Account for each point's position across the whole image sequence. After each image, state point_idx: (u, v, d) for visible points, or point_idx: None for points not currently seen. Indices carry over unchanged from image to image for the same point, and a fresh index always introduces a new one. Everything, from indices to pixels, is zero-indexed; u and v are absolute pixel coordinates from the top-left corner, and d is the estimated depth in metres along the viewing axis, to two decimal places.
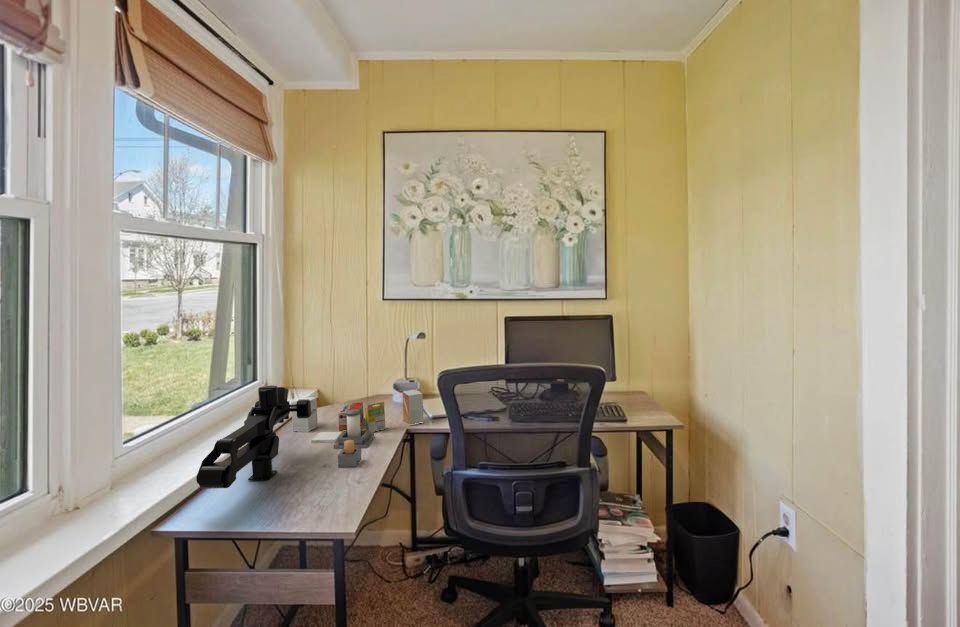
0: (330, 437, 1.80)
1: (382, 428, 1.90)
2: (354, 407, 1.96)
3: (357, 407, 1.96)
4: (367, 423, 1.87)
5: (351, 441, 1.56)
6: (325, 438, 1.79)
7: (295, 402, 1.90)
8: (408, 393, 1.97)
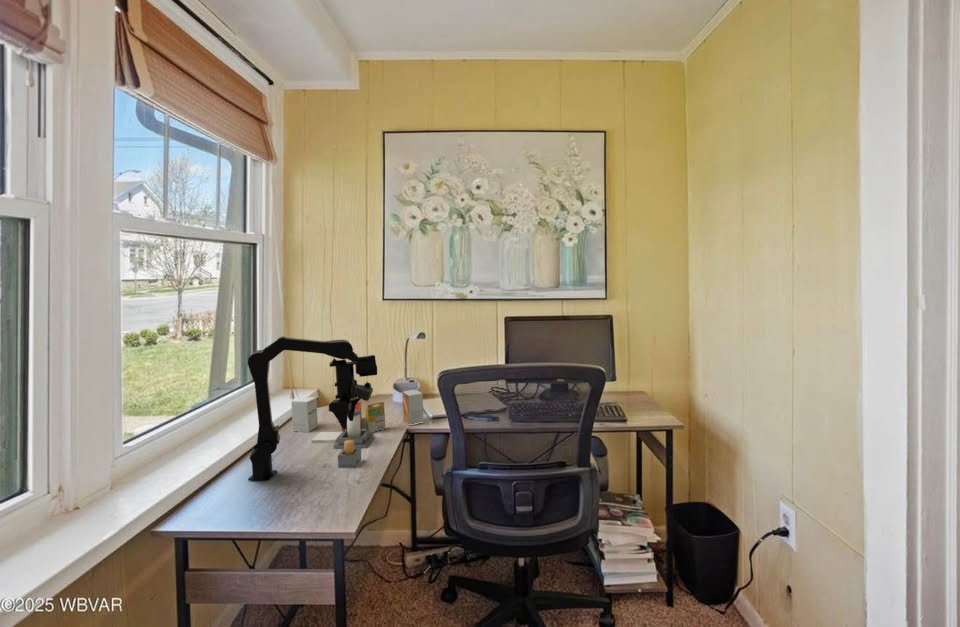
0: (330, 437, 1.80)
1: (382, 428, 1.90)
2: None
3: (358, 407, 1.97)
4: (367, 423, 1.87)
5: (351, 441, 1.56)
6: (325, 438, 1.79)
7: (295, 402, 1.90)
8: (408, 393, 1.97)
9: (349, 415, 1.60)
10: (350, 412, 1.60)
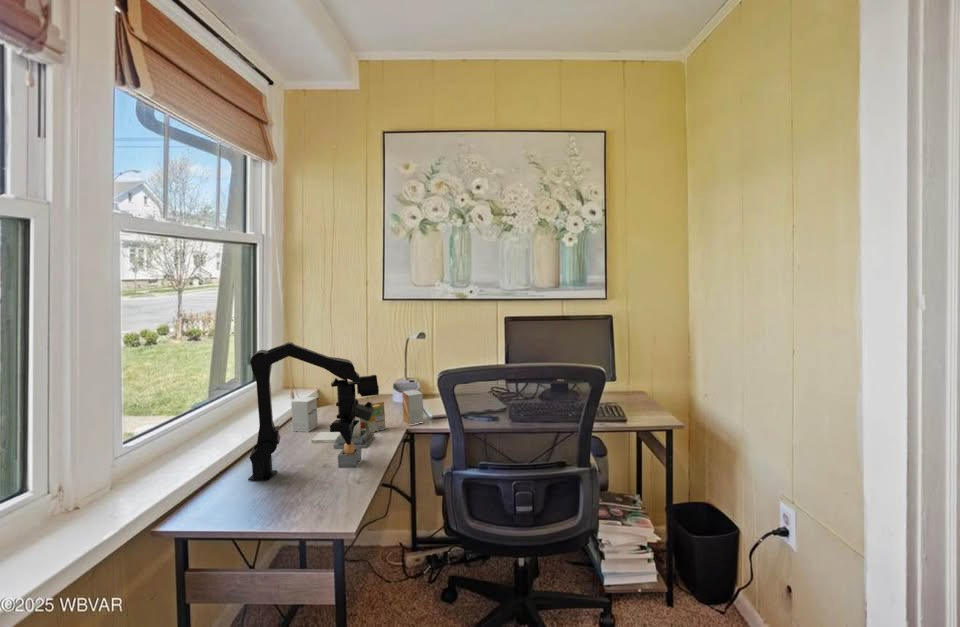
0: (330, 437, 1.80)
1: (382, 428, 1.90)
2: None
3: None
4: (367, 423, 1.87)
5: (351, 444, 1.57)
6: (325, 438, 1.79)
7: (295, 402, 1.90)
8: (408, 393, 1.97)
9: None
10: None
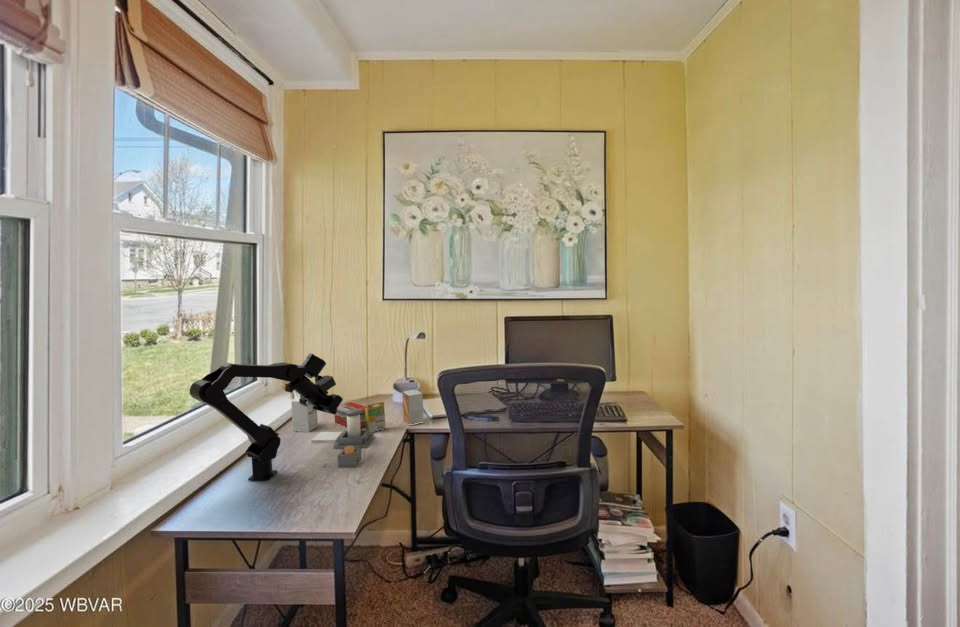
0: (330, 437, 1.80)
1: (382, 428, 1.90)
2: (356, 406, 1.98)
3: (359, 405, 1.99)
4: (367, 423, 1.87)
5: (351, 447, 1.57)
6: (325, 438, 1.79)
7: (295, 402, 1.90)
8: (408, 393, 1.97)
9: None
10: None
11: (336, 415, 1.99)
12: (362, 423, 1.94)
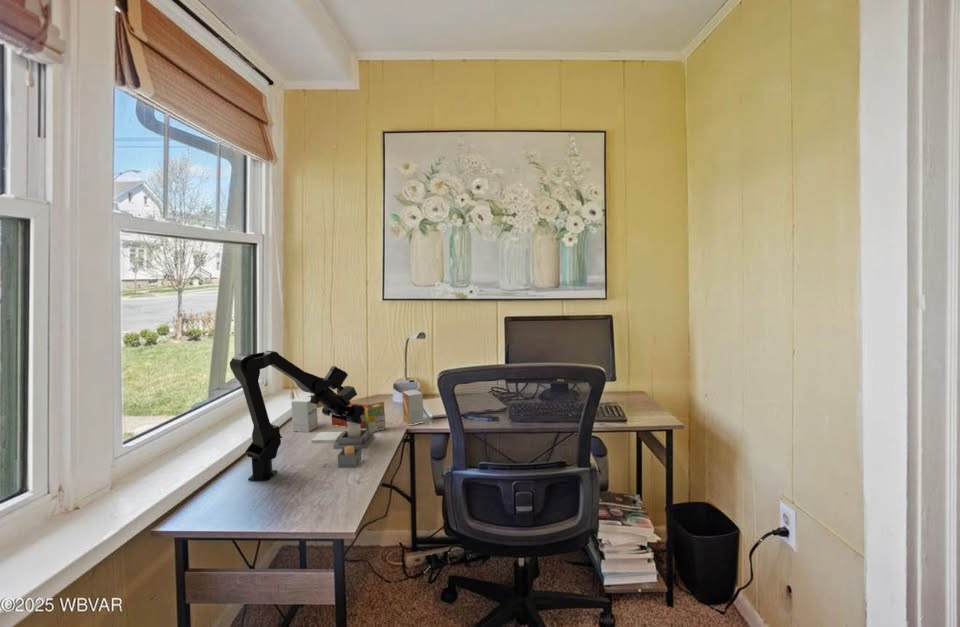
0: (330, 437, 1.80)
1: (382, 428, 1.90)
2: None
3: (358, 404, 2.00)
4: (367, 423, 1.87)
5: (351, 447, 1.57)
6: (325, 438, 1.79)
7: (295, 402, 1.90)
8: (408, 393, 1.97)
9: None
10: None
11: None
12: None
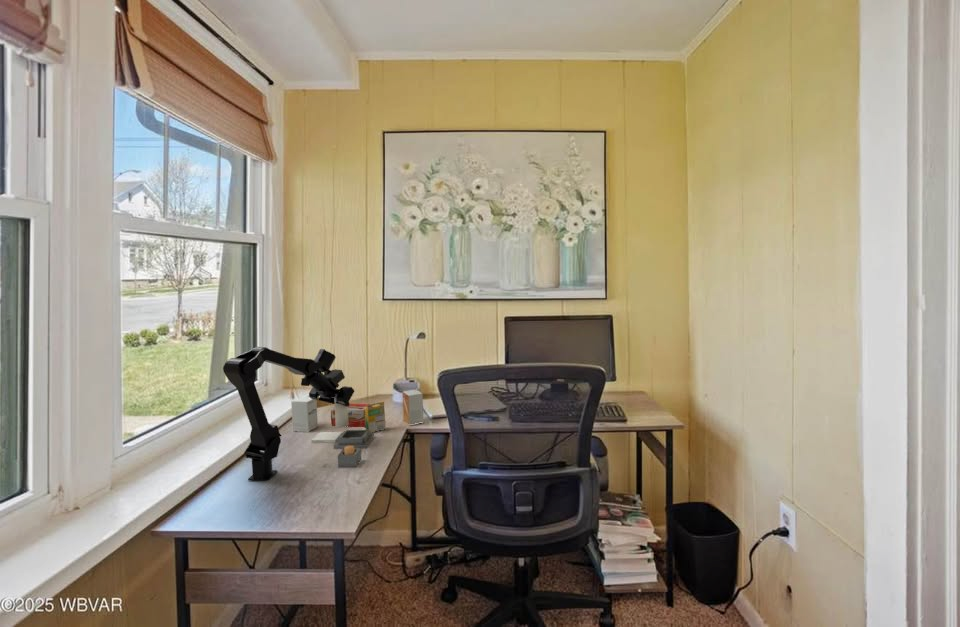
0: (330, 437, 1.80)
1: (382, 428, 1.90)
2: (355, 405, 2.00)
3: (357, 404, 2.01)
4: (367, 423, 1.87)
5: (351, 447, 1.57)
6: (325, 438, 1.79)
7: (295, 402, 1.90)
8: (408, 393, 1.97)
9: None
10: None
11: (334, 417, 1.96)
12: None
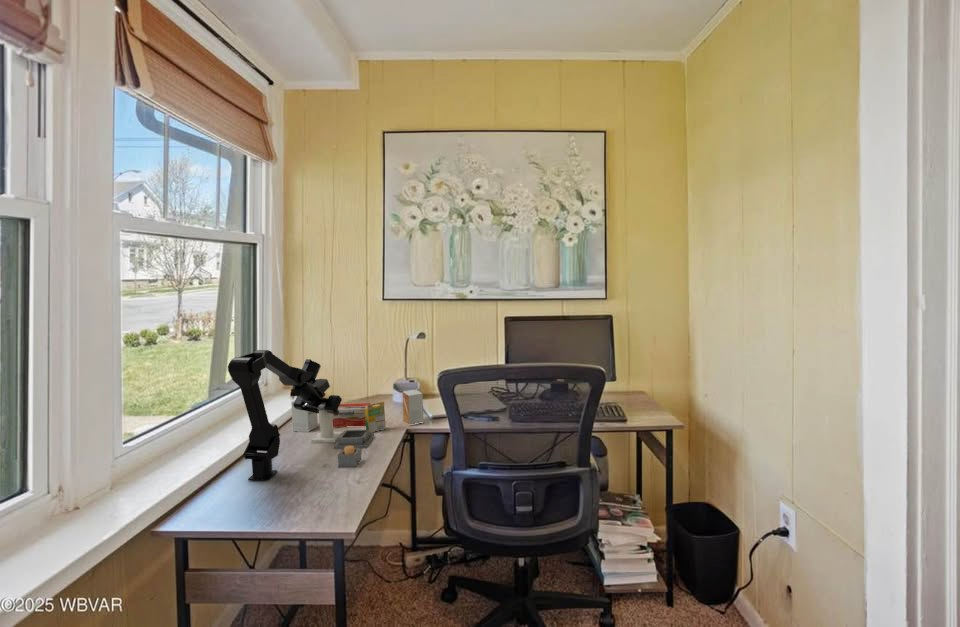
0: (330, 437, 1.80)
1: (382, 428, 1.90)
2: (355, 404, 2.00)
3: (356, 404, 2.01)
4: (367, 423, 1.87)
5: (351, 447, 1.57)
6: (325, 438, 1.79)
7: None
8: (408, 393, 1.97)
9: (316, 410, 1.83)
10: (314, 408, 1.82)
11: (335, 418, 1.95)
12: None
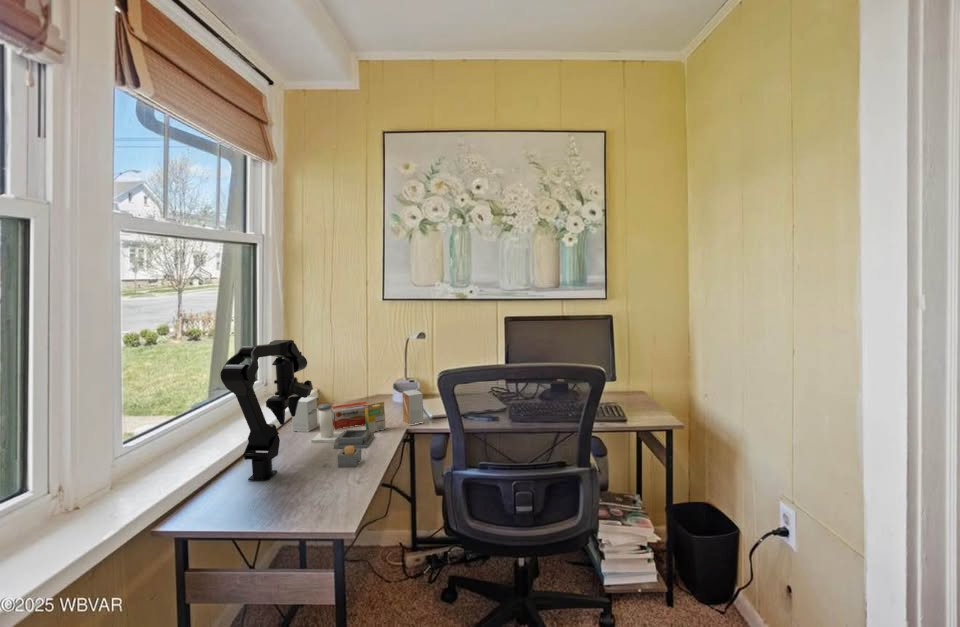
0: (330, 437, 1.80)
1: (382, 428, 1.90)
2: (352, 404, 2.01)
3: (352, 403, 2.02)
4: (367, 423, 1.87)
5: (351, 447, 1.57)
6: (325, 438, 1.79)
7: None
8: (408, 393, 1.97)
9: (291, 411, 1.67)
10: (292, 408, 1.68)
11: (338, 419, 1.93)
12: None
